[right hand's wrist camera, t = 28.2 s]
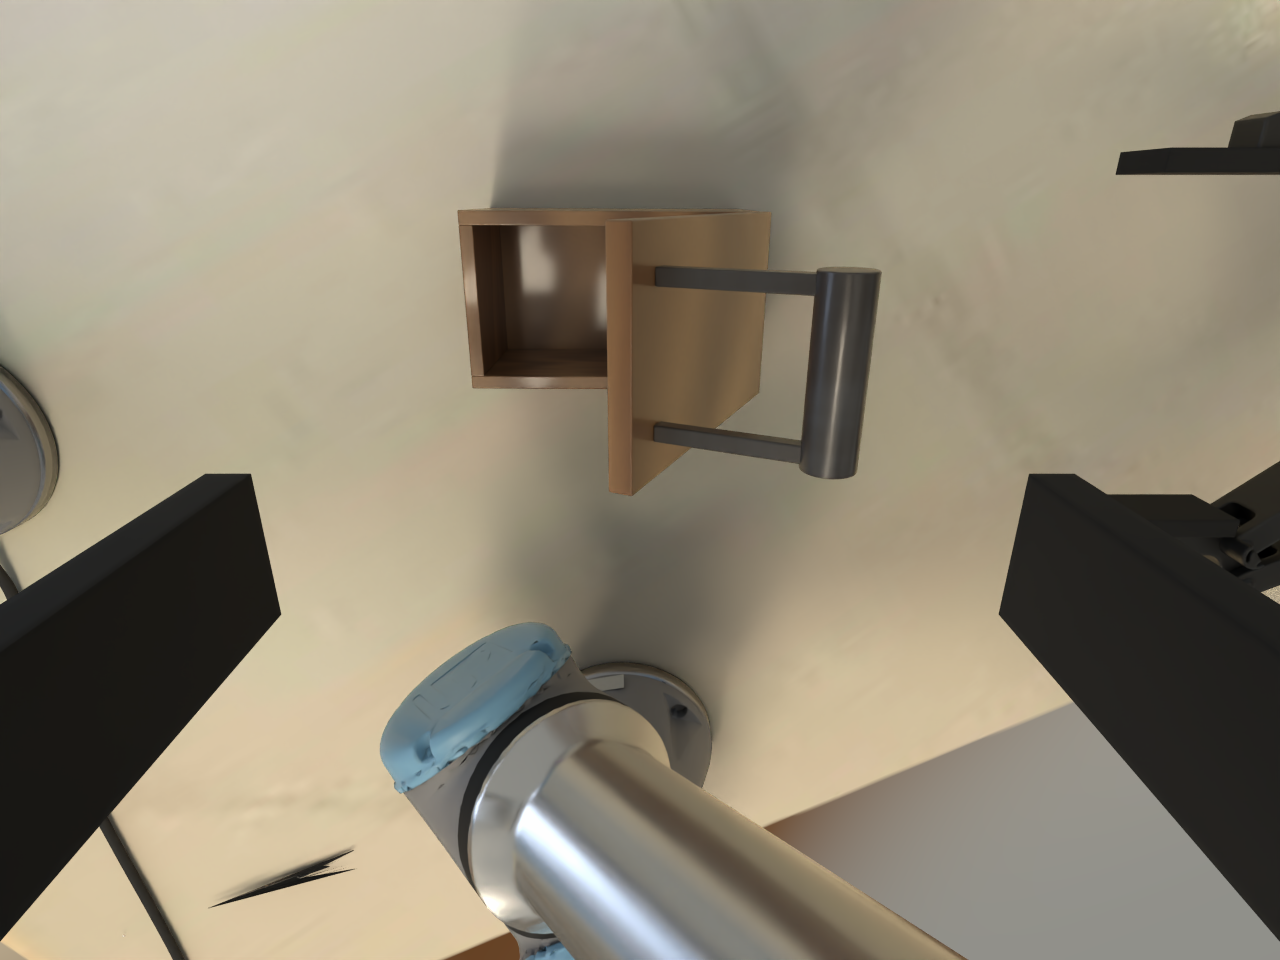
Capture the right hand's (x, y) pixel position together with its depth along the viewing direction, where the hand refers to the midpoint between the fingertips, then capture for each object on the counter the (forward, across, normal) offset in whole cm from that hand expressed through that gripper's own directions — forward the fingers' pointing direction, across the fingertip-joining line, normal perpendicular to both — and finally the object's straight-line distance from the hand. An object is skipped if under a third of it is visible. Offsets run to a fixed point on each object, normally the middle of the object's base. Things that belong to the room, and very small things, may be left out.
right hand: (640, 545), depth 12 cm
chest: (+39, +2, 0) cm, 39 cm away
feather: (+39, +39, +57) cm, 79 cm away
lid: (+22, -2, 0) cm, 22 cm away
